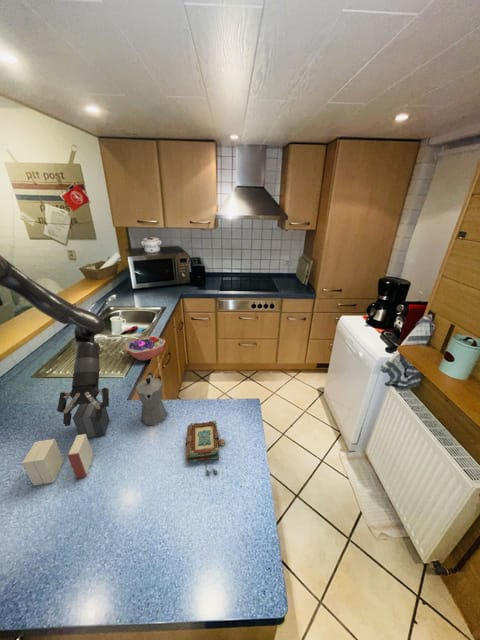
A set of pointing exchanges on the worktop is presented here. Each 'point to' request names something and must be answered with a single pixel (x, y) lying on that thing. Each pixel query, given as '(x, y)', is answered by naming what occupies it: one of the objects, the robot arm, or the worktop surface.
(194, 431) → the decorative book
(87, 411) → the dark grey striped block
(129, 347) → the cell model
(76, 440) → the cream red flat block
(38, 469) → the cream box
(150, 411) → the coffeepot
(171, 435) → the worktop surface
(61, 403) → the robot arm
